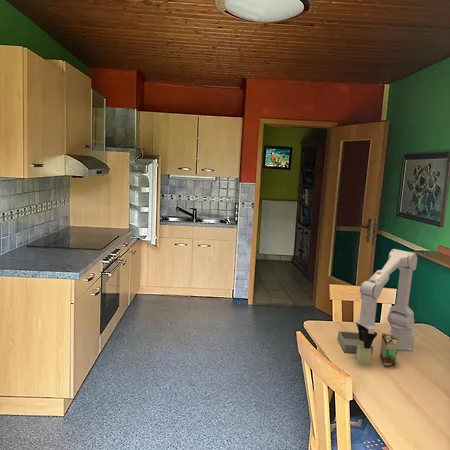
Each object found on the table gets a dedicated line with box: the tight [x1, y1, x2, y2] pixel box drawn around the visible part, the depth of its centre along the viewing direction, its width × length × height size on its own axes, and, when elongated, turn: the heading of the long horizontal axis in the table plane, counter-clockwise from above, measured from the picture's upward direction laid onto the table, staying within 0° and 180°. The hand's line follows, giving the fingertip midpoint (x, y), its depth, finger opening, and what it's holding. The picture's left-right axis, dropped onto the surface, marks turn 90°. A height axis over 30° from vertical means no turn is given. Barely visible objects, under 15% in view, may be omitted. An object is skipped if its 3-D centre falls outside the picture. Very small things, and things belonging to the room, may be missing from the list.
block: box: [355, 345, 372, 366], centre depth 173 cm, size 4×4×6 cm
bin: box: [337, 330, 374, 356], centre depth 188 cm, size 11×15×4 cm
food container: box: [379, 332, 400, 368], centre depth 173 cm, size 12×6×10 cm, turn 168°
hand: (364, 344), depth 172 cm, fingers open, 7 cm apart
